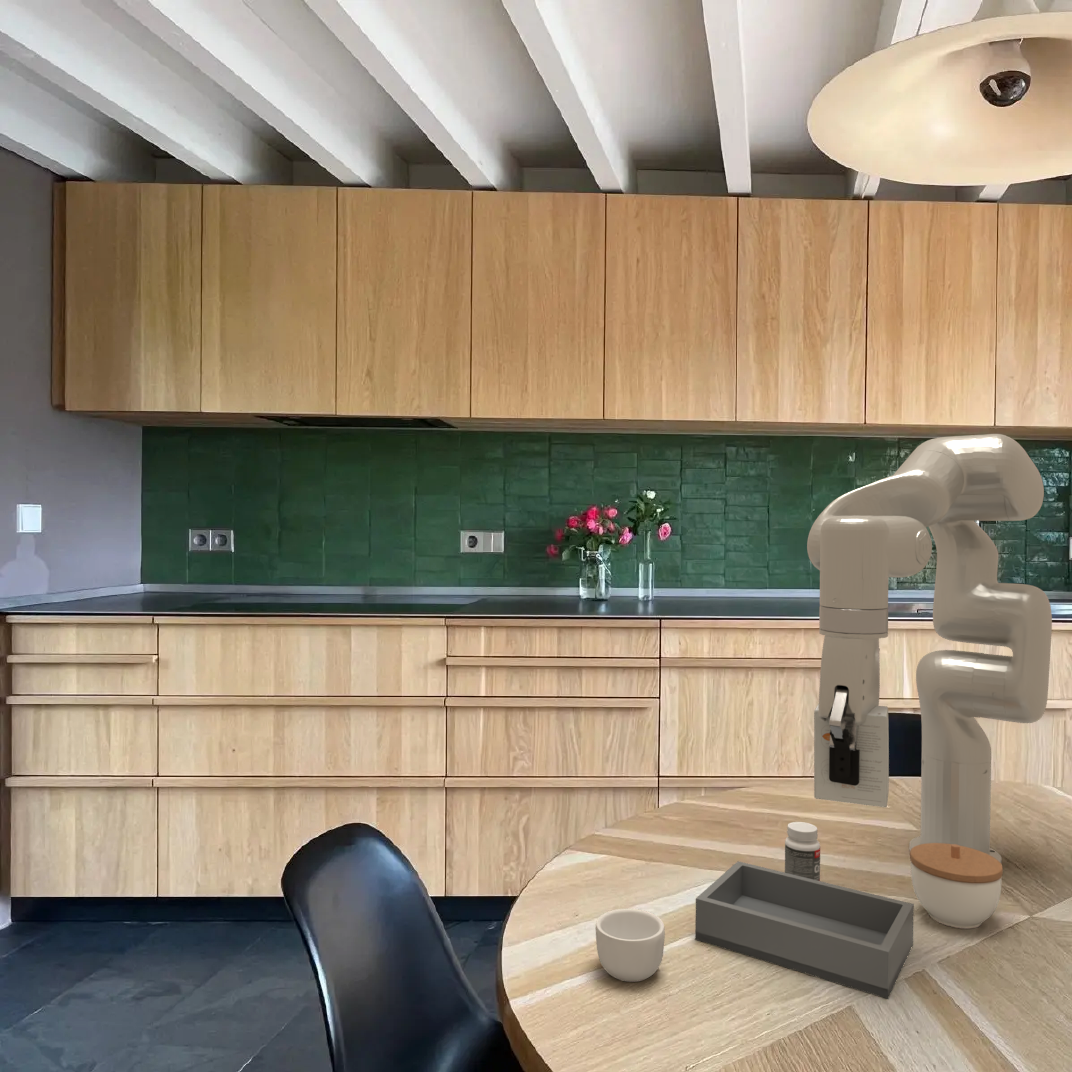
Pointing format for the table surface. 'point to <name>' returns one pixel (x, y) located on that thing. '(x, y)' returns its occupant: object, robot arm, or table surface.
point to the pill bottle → (802, 850)
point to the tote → (808, 926)
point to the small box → (871, 761)
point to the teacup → (630, 943)
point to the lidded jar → (956, 883)
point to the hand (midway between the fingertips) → (851, 774)
